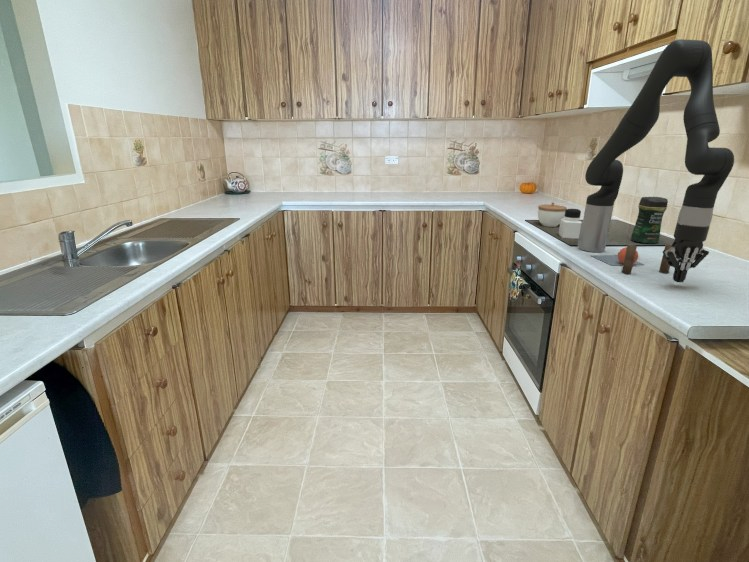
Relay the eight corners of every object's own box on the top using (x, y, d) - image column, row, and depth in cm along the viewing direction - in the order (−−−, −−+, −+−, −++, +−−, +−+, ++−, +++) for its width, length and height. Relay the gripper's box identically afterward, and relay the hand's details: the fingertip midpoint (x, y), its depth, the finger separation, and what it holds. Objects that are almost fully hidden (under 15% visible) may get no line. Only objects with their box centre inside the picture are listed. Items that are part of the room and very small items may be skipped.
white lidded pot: (530, 223, 212) (533, 200, 208) (553, 222, 214) (557, 200, 210) (544, 228, 200) (548, 204, 196) (569, 227, 202) (573, 204, 198)
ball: (625, 265, 141) (613, 264, 147) (641, 265, 142) (629, 263, 148) (626, 247, 140) (614, 246, 146) (643, 247, 141) (630, 246, 147)
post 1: (619, 271, 137) (625, 244, 134) (627, 271, 137) (633, 244, 134) (625, 274, 134) (631, 246, 131) (632, 274, 135) (638, 246, 132)
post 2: (657, 270, 138) (663, 244, 135) (664, 270, 139) (671, 243, 136) (663, 273, 136) (669, 246, 133) (670, 273, 136) (677, 245, 133)
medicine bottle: (579, 239, 180) (584, 210, 176) (562, 238, 181) (566, 210, 177) (575, 235, 187) (579, 208, 183) (558, 234, 188) (562, 207, 184)
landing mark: (590, 255, 155) (590, 255, 155) (621, 255, 156) (621, 254, 156) (611, 265, 143) (611, 265, 143) (644, 264, 145) (644, 264, 145)
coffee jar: (638, 244, 173) (648, 198, 167) (627, 239, 180) (636, 195, 174) (662, 244, 173) (673, 198, 167) (650, 239, 180) (660, 195, 174)
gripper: (703, 219, 122) (688, 276, 128) (661, 220, 121) (647, 277, 127) (726, 225, 115) (709, 285, 121) (682, 225, 114) (667, 286, 120)
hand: (678, 281), depth 124 cm, fingers closed
